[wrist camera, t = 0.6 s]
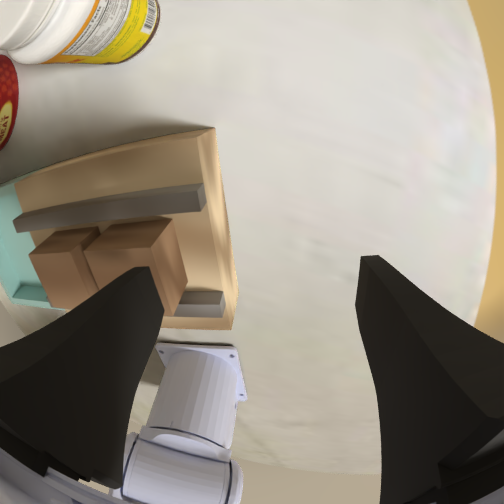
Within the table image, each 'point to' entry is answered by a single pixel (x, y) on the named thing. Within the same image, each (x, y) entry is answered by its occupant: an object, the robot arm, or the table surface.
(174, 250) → the brown block
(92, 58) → the supplement bottle
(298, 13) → the table surface
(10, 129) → the canned food
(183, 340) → the table surface
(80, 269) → the block
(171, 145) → the slot deck
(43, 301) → the tray
